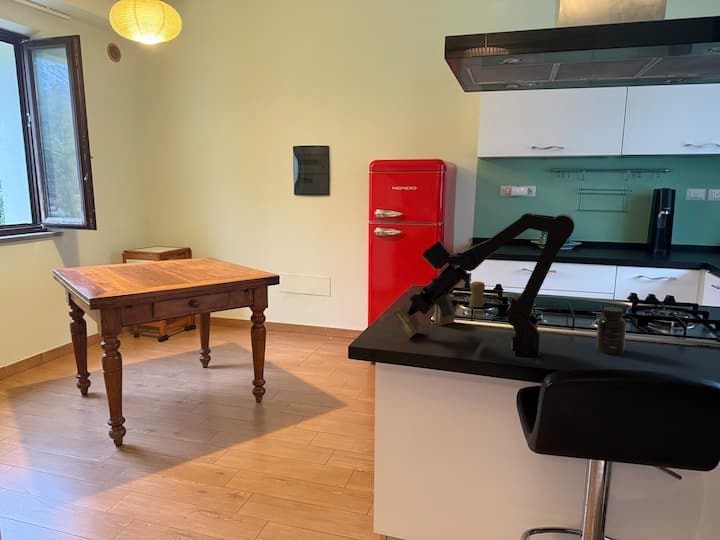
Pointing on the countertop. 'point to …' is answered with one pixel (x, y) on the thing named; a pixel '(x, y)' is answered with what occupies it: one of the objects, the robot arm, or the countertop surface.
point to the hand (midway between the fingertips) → (409, 314)
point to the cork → (477, 294)
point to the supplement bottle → (611, 331)
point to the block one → (407, 320)
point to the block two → (439, 318)
